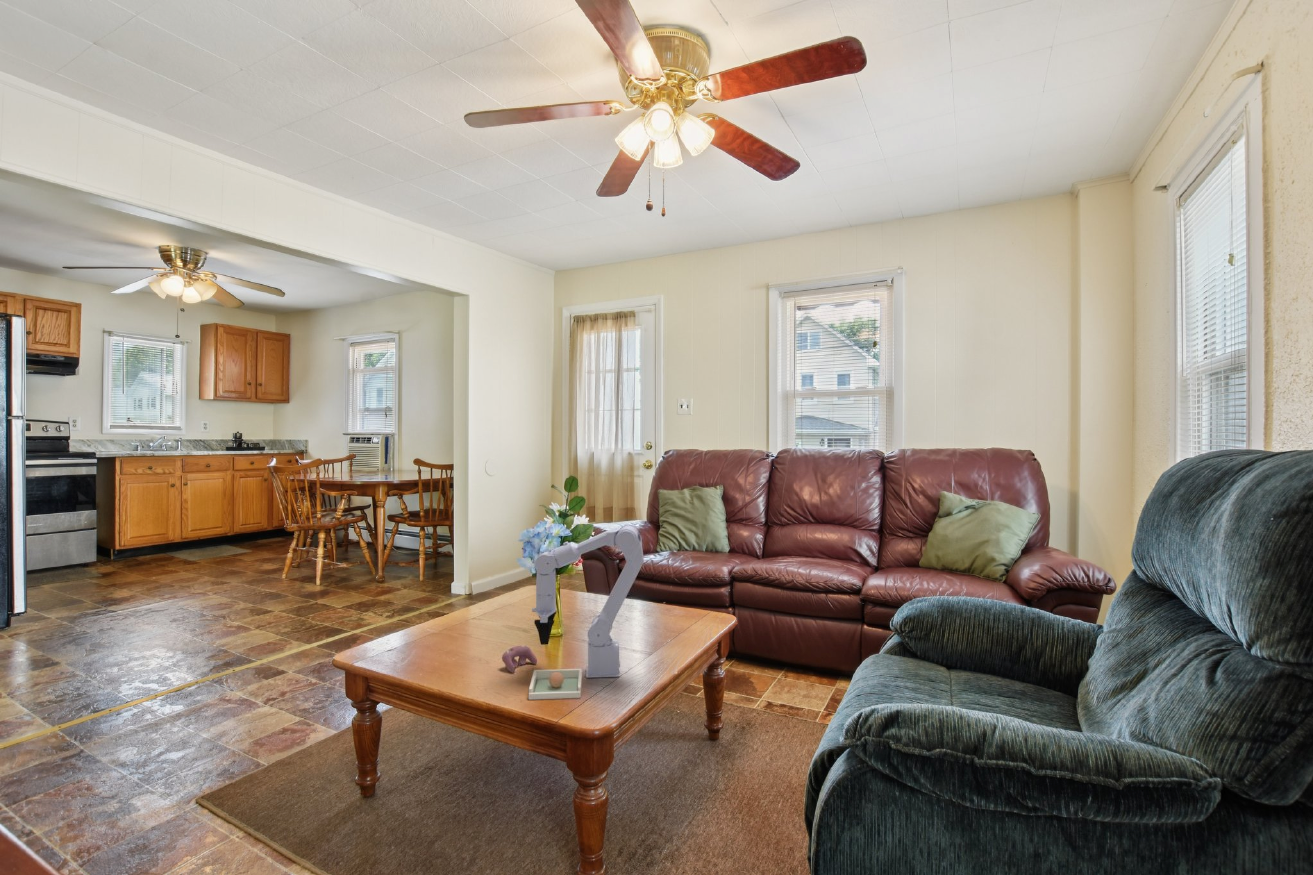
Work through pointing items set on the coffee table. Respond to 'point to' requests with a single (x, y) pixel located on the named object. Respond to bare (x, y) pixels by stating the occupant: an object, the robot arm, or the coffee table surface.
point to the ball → (556, 679)
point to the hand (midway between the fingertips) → (545, 639)
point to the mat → (567, 685)
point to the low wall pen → (555, 695)
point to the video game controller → (515, 652)
